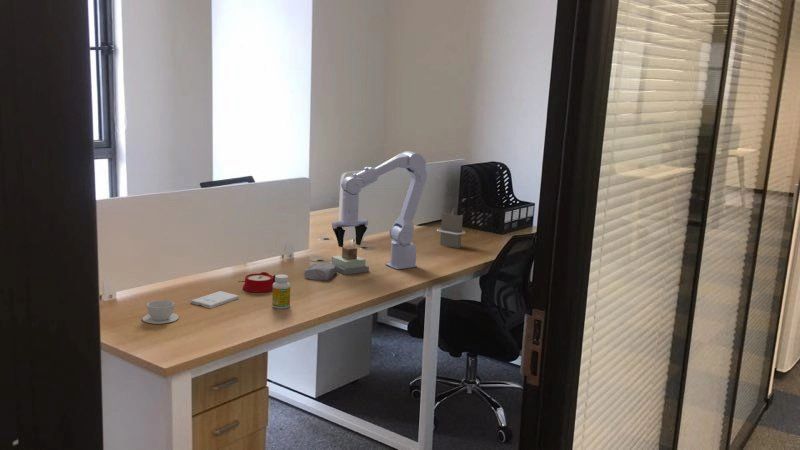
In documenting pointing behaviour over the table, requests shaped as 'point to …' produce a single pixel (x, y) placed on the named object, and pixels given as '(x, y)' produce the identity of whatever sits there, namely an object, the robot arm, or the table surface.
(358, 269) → the grey base slab
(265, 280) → the alarm clock
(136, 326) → the table surface
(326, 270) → the stone block
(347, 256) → the walnut cube
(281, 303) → the supplement bottle
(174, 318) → the teacup
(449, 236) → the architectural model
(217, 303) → the external hard drive
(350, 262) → the green top slab
